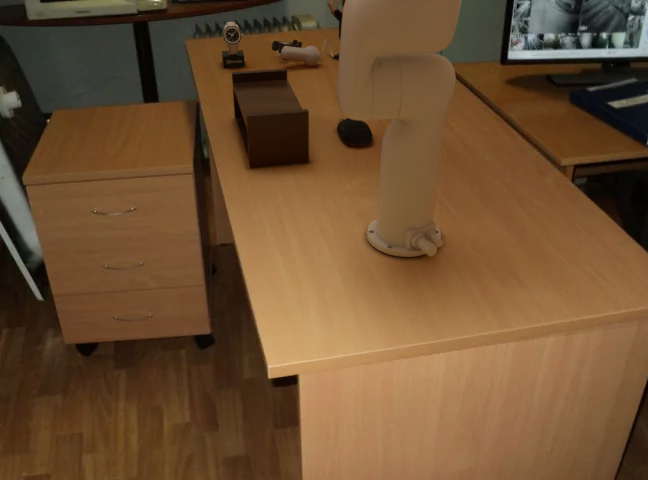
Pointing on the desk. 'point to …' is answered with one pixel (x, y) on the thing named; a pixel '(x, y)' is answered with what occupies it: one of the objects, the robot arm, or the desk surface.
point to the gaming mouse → (354, 132)
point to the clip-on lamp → (299, 52)
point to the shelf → (270, 118)
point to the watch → (232, 46)
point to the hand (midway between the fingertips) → (365, 38)
